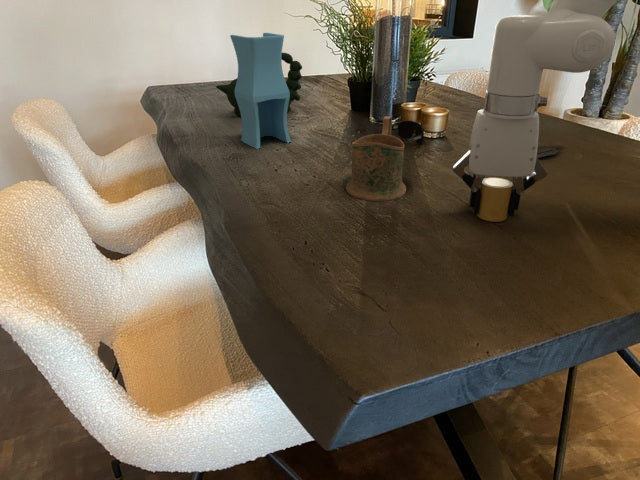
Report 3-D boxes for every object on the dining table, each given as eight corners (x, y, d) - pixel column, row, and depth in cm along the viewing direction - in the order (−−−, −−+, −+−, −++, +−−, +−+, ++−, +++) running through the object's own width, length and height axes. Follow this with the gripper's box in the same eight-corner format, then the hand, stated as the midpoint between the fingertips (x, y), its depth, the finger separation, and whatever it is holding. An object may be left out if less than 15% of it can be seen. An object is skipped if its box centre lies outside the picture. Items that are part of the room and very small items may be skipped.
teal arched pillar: (272, 133, 130) (266, 32, 119) (291, 142, 123) (287, 35, 112) (238, 139, 126) (229, 35, 114) (256, 149, 118) (248, 38, 107)
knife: (553, 150, 116) (555, 144, 115) (575, 158, 111) (577, 152, 110) (466, 164, 108) (467, 158, 107) (485, 173, 102) (486, 166, 102)
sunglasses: (429, 146, 119) (429, 126, 116) (389, 160, 115) (388, 139, 112) (403, 135, 127) (402, 117, 125) (365, 148, 123) (363, 129, 120)
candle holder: (504, 210, 85) (510, 177, 83) (509, 222, 81) (515, 188, 78) (475, 208, 86) (479, 176, 83) (477, 220, 82) (482, 187, 79)
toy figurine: (296, 114, 156) (216, 111, 151) (300, 51, 147) (216, 46, 143) (300, 122, 148) (216, 118, 143) (304, 55, 139) (215, 49, 134)
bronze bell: (413, 172, 103) (418, 115, 98) (401, 204, 89) (406, 139, 83) (360, 167, 106) (361, 111, 101) (339, 197, 91) (340, 134, 86)
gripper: (563, 100, 77) (540, 206, 85) (451, 97, 80) (440, 200, 88) (576, 111, 70) (550, 225, 79) (454, 108, 73) (441, 218, 82)
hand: (492, 211), depth 83 cm, fingers closed on candle holder, 5 cm apart
